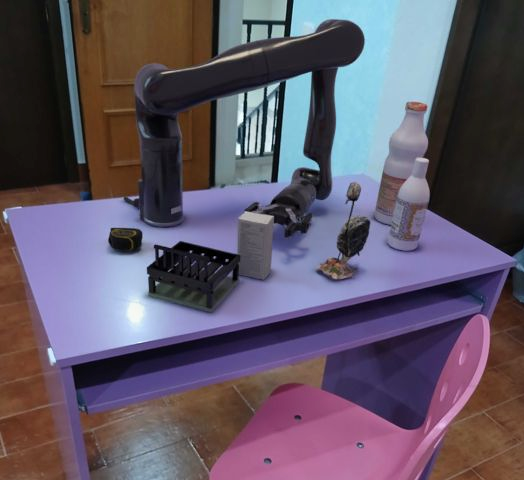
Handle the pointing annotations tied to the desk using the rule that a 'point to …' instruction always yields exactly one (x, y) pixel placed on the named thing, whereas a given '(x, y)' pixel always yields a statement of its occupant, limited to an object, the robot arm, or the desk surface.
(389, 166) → the fruit juice
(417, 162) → the bath foam
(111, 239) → the tape measure
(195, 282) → the dish rack
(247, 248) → the cosmetic box
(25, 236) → the desk surface
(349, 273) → the plant with pod
